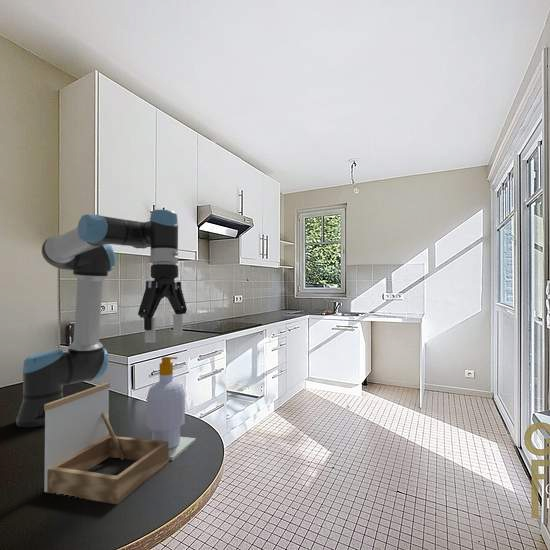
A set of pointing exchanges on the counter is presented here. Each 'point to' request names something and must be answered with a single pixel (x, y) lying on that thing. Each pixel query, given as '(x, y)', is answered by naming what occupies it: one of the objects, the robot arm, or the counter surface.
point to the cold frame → (104, 487)
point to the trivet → (180, 447)
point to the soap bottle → (166, 406)
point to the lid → (74, 424)
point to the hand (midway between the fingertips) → (164, 339)
